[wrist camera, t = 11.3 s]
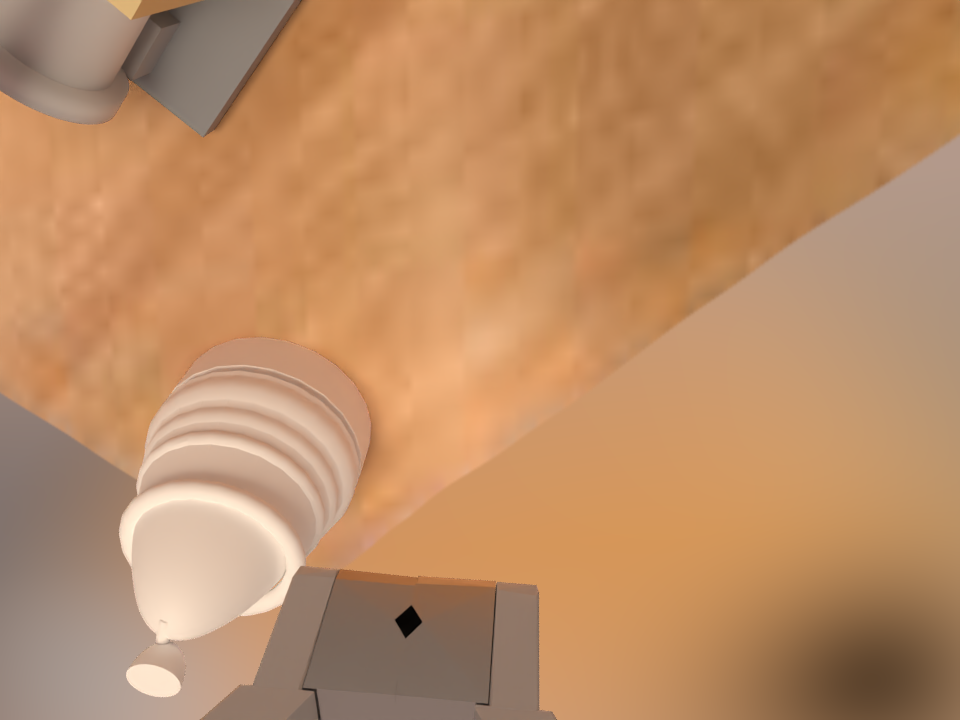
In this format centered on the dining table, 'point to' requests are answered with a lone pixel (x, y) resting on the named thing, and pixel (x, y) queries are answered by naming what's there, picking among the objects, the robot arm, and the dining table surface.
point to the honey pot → (237, 491)
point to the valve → (134, 54)
